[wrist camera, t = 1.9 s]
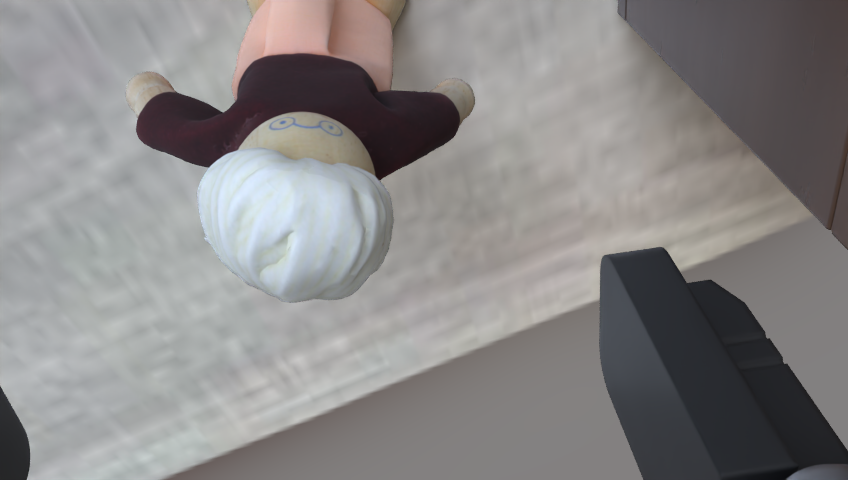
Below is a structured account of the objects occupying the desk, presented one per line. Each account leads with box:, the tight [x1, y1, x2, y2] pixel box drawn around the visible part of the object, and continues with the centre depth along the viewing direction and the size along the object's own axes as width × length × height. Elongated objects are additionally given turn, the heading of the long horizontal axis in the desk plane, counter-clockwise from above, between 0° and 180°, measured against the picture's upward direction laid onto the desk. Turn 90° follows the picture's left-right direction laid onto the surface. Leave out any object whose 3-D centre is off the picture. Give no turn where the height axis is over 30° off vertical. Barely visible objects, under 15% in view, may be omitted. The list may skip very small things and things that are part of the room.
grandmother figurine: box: [125, 0, 475, 303], centre depth 17 cm, size 8×4×13 cm, turn 97°
